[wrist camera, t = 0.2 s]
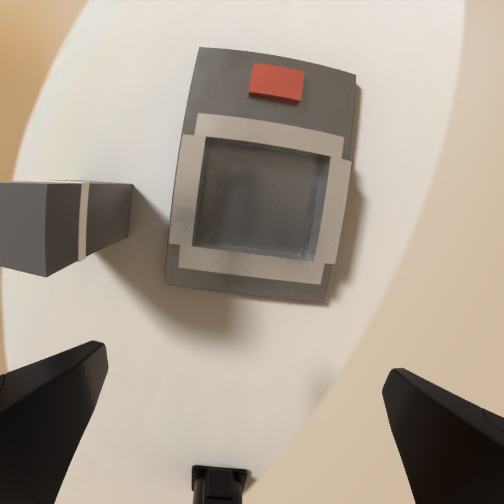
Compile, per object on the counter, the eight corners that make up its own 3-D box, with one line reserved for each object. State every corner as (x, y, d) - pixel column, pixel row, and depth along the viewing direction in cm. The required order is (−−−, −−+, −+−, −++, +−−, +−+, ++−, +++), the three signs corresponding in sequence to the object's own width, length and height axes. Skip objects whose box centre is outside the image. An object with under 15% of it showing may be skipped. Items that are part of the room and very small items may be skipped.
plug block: (128, 236, 21) (47, 278, 10) (74, 230, 21) (-19, 261, 10) (133, 183, 20) (48, 182, 9) (77, 179, 20) (-19, 181, 9)
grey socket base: (319, 298, 23) (330, 312, 20) (167, 280, 22) (158, 293, 19) (351, 78, 19) (366, 66, 16) (200, 52, 18) (196, 35, 15)
